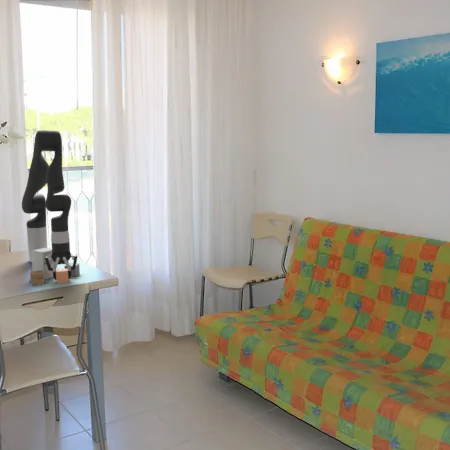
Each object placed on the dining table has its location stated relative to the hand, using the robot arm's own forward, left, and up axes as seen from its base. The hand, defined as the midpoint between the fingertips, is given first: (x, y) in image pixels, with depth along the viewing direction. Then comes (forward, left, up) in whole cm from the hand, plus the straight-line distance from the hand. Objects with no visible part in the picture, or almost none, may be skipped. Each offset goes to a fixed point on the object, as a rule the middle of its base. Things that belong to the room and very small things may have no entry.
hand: (62, 279), depth 264 cm
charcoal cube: (-10, +4, -1) cm, 11 cm away
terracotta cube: (0, 0, -1) cm, 1 cm away
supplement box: (-9, -8, -1) cm, 12 cm away
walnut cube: (+1, -11, -1) cm, 11 cm away
